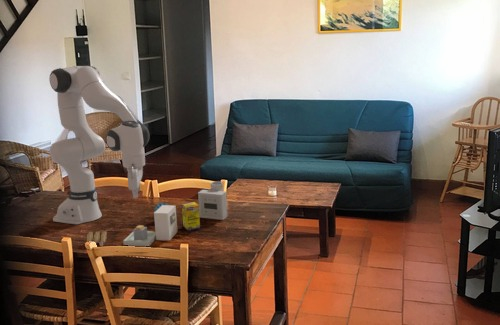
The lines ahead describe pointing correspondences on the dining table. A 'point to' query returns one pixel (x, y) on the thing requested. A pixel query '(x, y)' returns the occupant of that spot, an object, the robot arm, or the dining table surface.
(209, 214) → the thermostat
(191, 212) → the supplement box
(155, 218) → the box
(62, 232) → the dining table surface
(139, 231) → the relay block
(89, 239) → the ammunition
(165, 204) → the gear
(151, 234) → the tray
